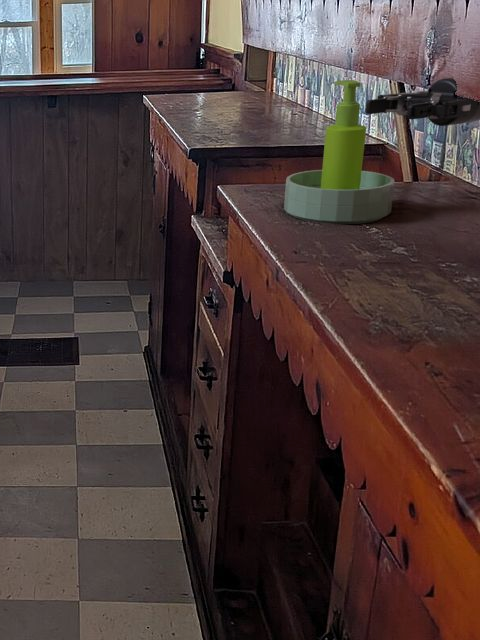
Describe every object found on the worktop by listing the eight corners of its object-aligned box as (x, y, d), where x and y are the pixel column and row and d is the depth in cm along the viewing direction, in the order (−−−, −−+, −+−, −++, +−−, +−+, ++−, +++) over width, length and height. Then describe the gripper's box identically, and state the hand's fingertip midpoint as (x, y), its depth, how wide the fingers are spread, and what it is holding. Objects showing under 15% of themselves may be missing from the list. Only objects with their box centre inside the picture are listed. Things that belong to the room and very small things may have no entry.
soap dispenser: (345, 203, 144) (358, 77, 136) (363, 212, 137) (378, 81, 130) (310, 205, 144) (321, 79, 136) (327, 215, 137) (339, 84, 129)
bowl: (402, 207, 142) (406, 173, 140) (373, 230, 130) (377, 193, 128) (303, 198, 151) (306, 166, 149) (268, 219, 139) (271, 185, 137)
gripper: (430, 73, 148) (356, 82, 142) (504, 79, 135) (427, 88, 130) (424, 119, 151) (352, 128, 145) (496, 127, 138) (420, 139, 133)
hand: (387, 109), depth 137 cm, fingers open, 8 cm apart
